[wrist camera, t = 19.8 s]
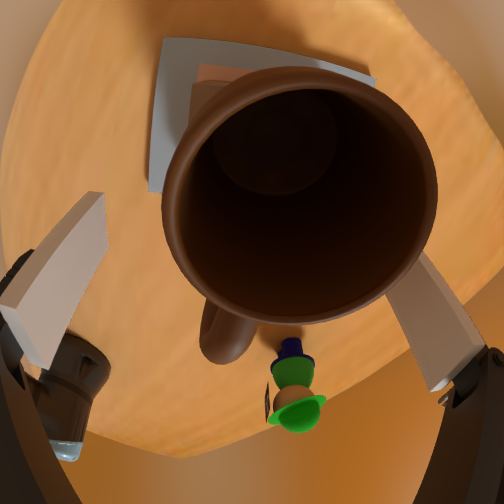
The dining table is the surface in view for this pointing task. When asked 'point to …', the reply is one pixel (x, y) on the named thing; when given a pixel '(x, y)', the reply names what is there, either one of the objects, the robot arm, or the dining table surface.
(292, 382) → the toy
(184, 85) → the plate
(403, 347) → the dining table surface
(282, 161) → the mug
